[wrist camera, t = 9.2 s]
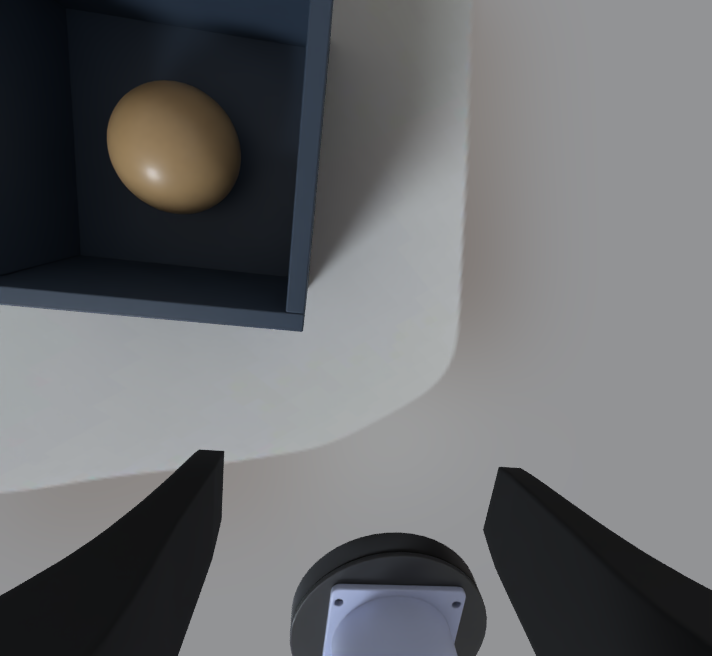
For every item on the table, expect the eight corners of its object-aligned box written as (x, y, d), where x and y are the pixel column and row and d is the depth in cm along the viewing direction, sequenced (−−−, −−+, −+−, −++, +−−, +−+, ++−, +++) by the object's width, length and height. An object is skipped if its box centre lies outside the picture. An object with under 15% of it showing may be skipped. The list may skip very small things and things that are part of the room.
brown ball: (245, 217, 19) (228, 224, 14) (136, 205, 18) (85, 208, 14) (250, 105, 17) (233, 76, 13) (133, 87, 17) (77, 51, 13)
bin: (307, 289, 20) (302, 332, 14) (72, 266, 19) (-44, 301, 13) (330, 37, 17) (336, -47, 11) (54, -9, 16) (-108, -132, 10)
